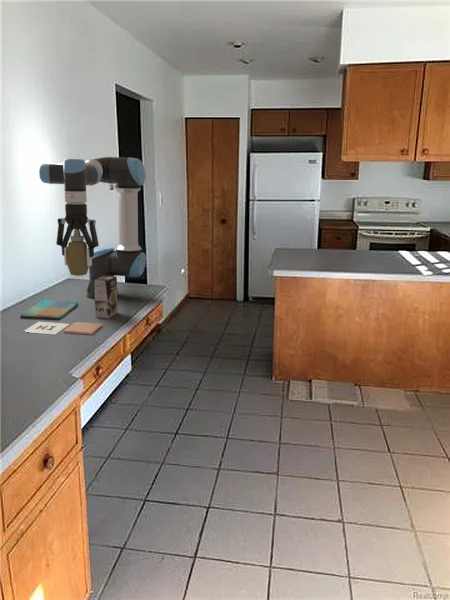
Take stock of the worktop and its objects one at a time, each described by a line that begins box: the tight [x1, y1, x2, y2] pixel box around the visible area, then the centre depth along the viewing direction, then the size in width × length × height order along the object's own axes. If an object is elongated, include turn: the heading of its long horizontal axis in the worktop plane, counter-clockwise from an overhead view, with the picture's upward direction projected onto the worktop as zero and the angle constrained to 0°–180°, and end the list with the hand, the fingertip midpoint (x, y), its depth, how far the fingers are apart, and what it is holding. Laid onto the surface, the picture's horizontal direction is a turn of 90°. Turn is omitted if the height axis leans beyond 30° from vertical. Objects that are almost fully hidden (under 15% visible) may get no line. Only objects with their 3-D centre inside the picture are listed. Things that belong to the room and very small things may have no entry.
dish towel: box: [19, 299, 79, 321], centre depth 216 cm, size 17×23×2 cm
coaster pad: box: [63, 321, 103, 335], centre depth 194 cm, size 11×11×1 cm
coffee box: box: [94, 275, 118, 319], centre depth 211 cm, size 9×6×16 cm
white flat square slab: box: [23, 321, 70, 336], centre depth 194 cm, size 13×13×1 cm
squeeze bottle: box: [66, 229, 89, 277], centre depth 187 cm, size 8×8×18 cm
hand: (78, 264), depth 188 cm, fingers closed on squeeze bottle, 8 cm apart
